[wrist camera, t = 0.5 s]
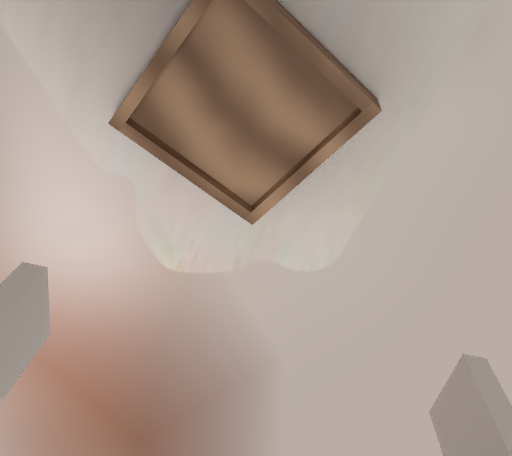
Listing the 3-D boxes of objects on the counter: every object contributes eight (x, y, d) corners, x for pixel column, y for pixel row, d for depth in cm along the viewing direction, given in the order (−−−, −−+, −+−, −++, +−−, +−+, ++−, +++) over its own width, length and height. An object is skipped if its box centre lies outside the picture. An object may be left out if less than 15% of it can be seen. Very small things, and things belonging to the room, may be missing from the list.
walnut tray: (226, -49, 28) (222, -44, 27) (377, 98, 34) (381, 110, 32) (117, 111, 36) (108, 123, 35) (254, 210, 42) (252, 224, 40)
